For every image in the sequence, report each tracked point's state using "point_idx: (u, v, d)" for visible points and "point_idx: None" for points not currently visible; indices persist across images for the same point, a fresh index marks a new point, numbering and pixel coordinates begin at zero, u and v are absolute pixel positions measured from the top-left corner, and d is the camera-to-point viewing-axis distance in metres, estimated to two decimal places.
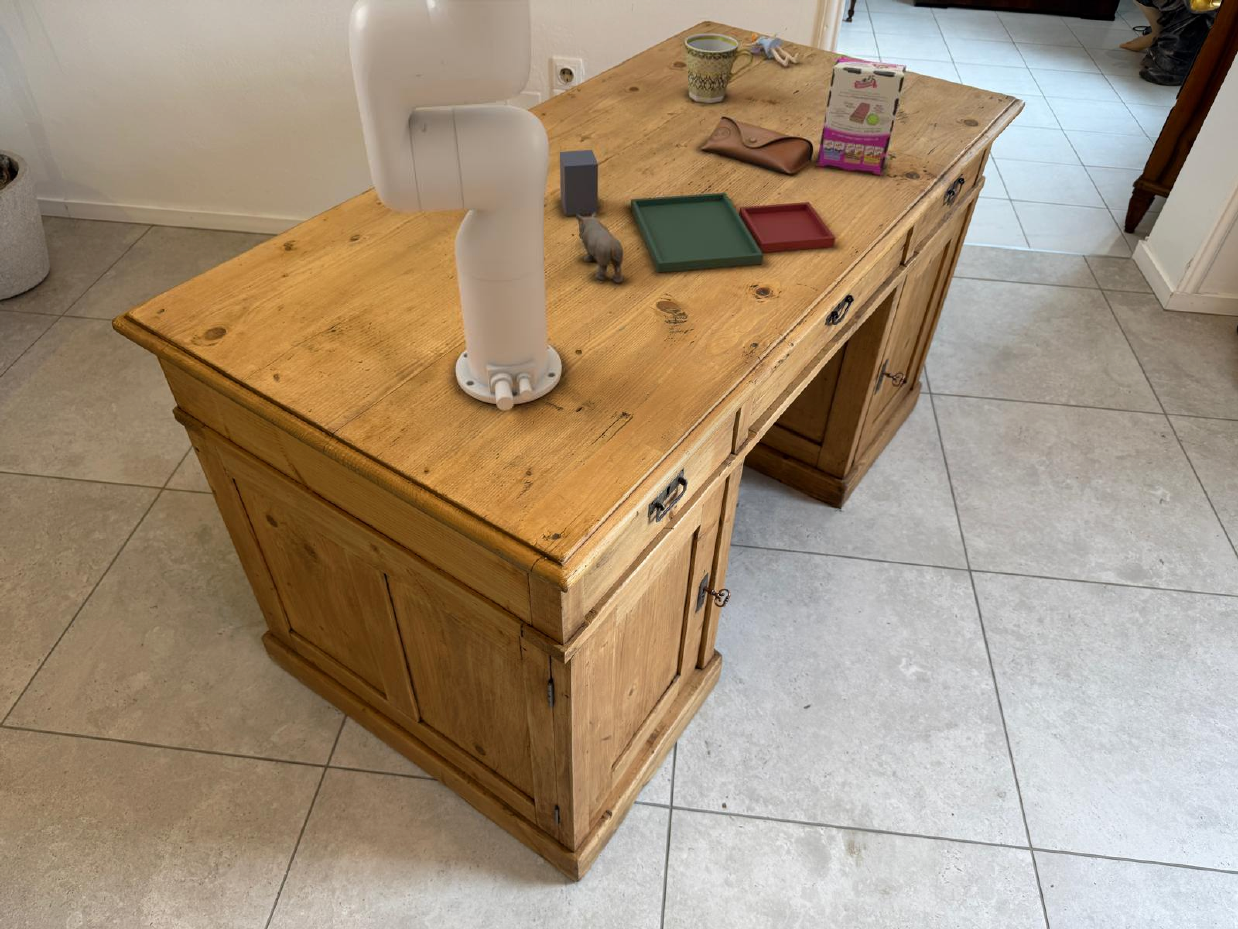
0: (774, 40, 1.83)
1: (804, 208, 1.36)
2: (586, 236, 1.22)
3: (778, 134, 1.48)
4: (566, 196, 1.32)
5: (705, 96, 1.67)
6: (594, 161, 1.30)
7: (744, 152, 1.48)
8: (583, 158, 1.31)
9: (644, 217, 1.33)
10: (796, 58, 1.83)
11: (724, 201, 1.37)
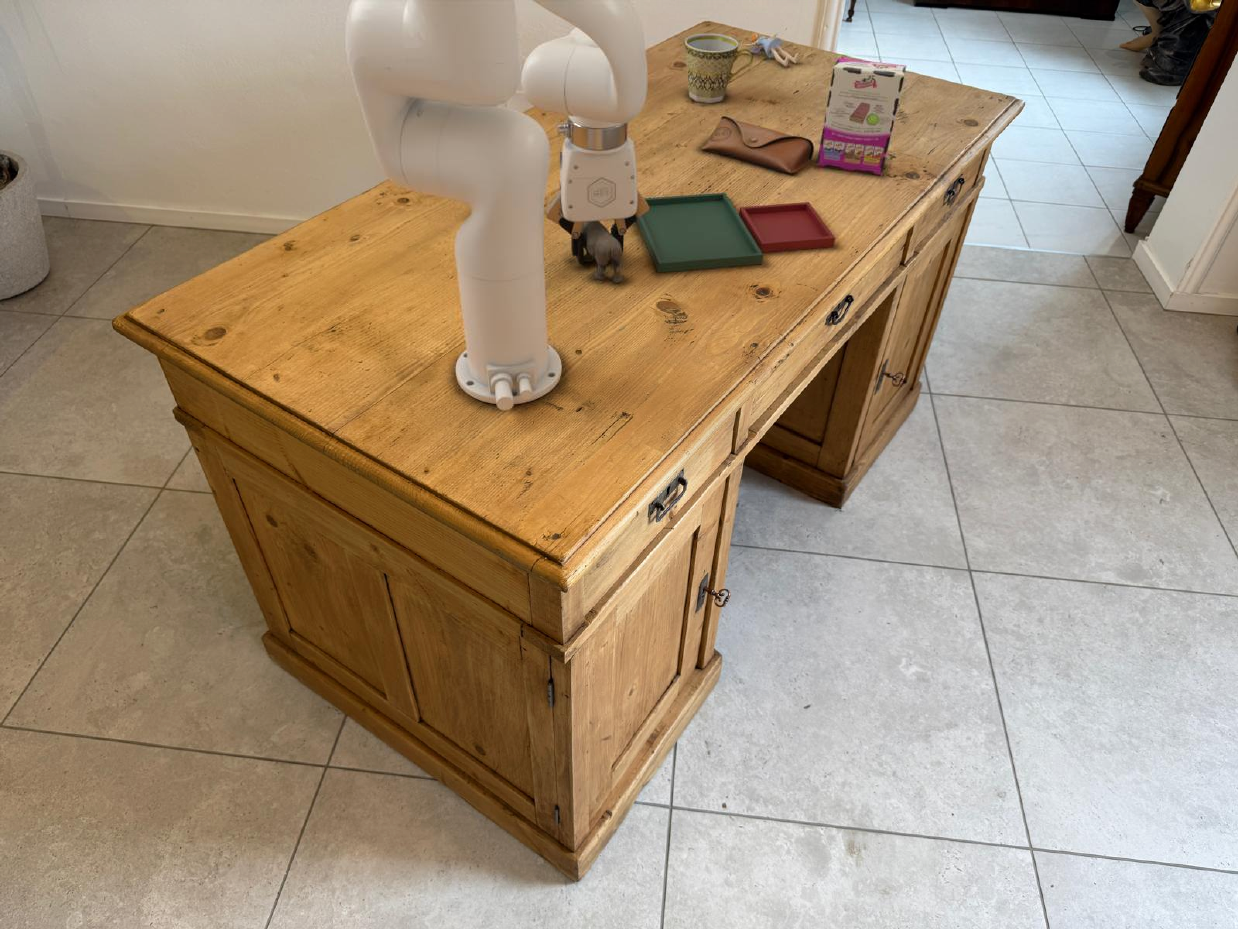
0: (774, 40, 1.83)
1: (804, 208, 1.36)
2: (585, 235, 1.22)
3: (779, 133, 1.49)
4: None
5: (705, 96, 1.67)
6: None
7: (745, 152, 1.48)
8: None
9: (644, 217, 1.33)
10: (796, 58, 1.83)
11: (724, 201, 1.37)
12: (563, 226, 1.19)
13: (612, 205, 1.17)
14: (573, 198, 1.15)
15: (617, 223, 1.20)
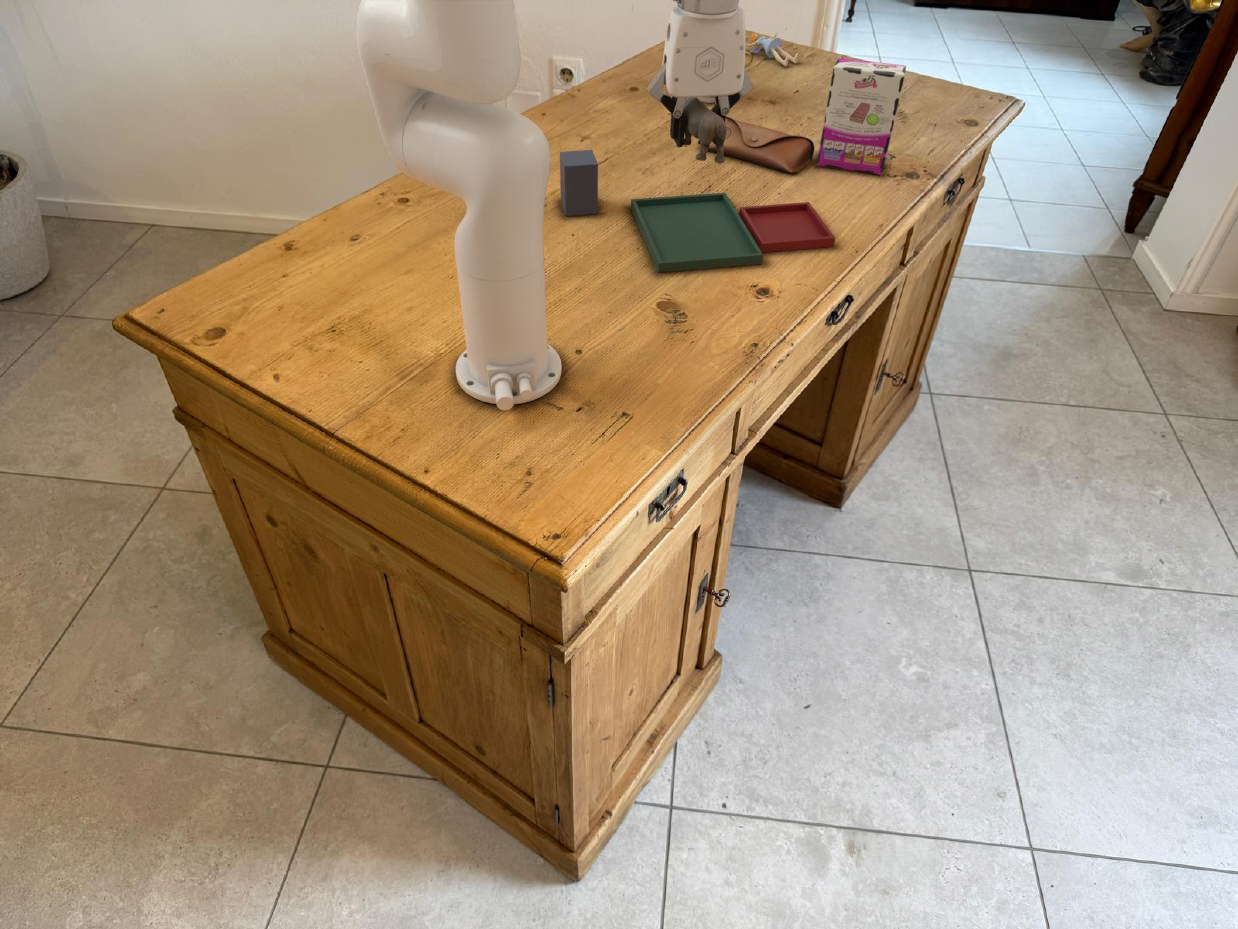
0: (774, 40, 1.84)
1: (804, 208, 1.36)
2: (686, 115, 1.18)
3: (779, 133, 1.49)
4: (566, 196, 1.32)
5: None
6: (594, 161, 1.30)
7: (745, 151, 1.49)
8: (583, 158, 1.31)
9: (644, 217, 1.33)
10: (796, 58, 1.83)
11: (724, 201, 1.37)
12: (665, 104, 1.15)
13: (719, 79, 1.13)
14: (680, 70, 1.11)
15: (720, 101, 1.16)
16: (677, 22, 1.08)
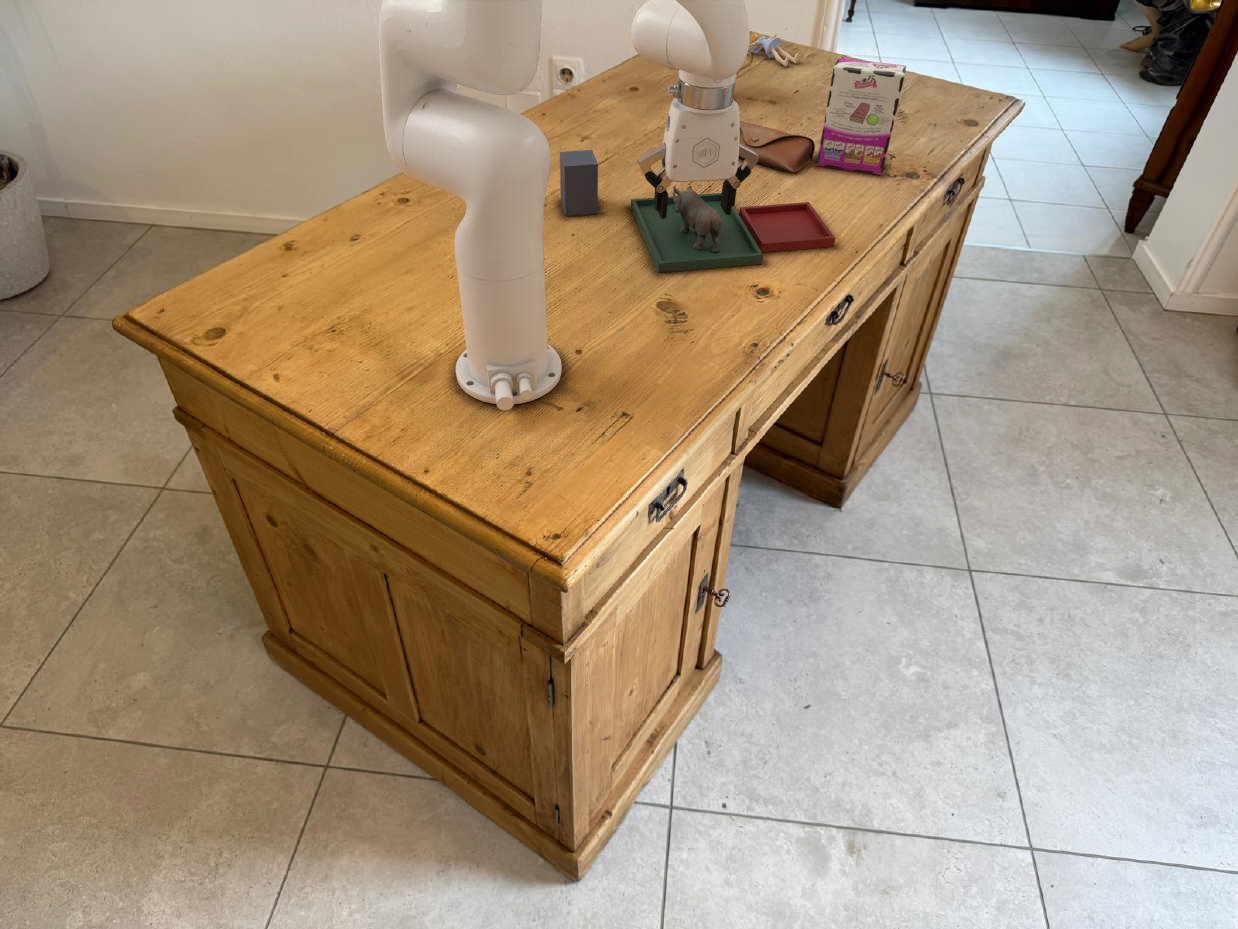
0: (774, 40, 1.84)
1: (804, 208, 1.36)
2: (684, 207, 1.27)
3: (780, 132, 1.49)
4: (566, 196, 1.32)
5: None
6: (594, 161, 1.30)
7: None
8: (583, 158, 1.31)
9: (644, 217, 1.33)
10: (796, 58, 1.83)
11: None
12: (649, 180, 1.22)
13: (714, 166, 1.21)
14: (679, 158, 1.19)
15: (729, 180, 1.24)
16: (676, 115, 1.16)
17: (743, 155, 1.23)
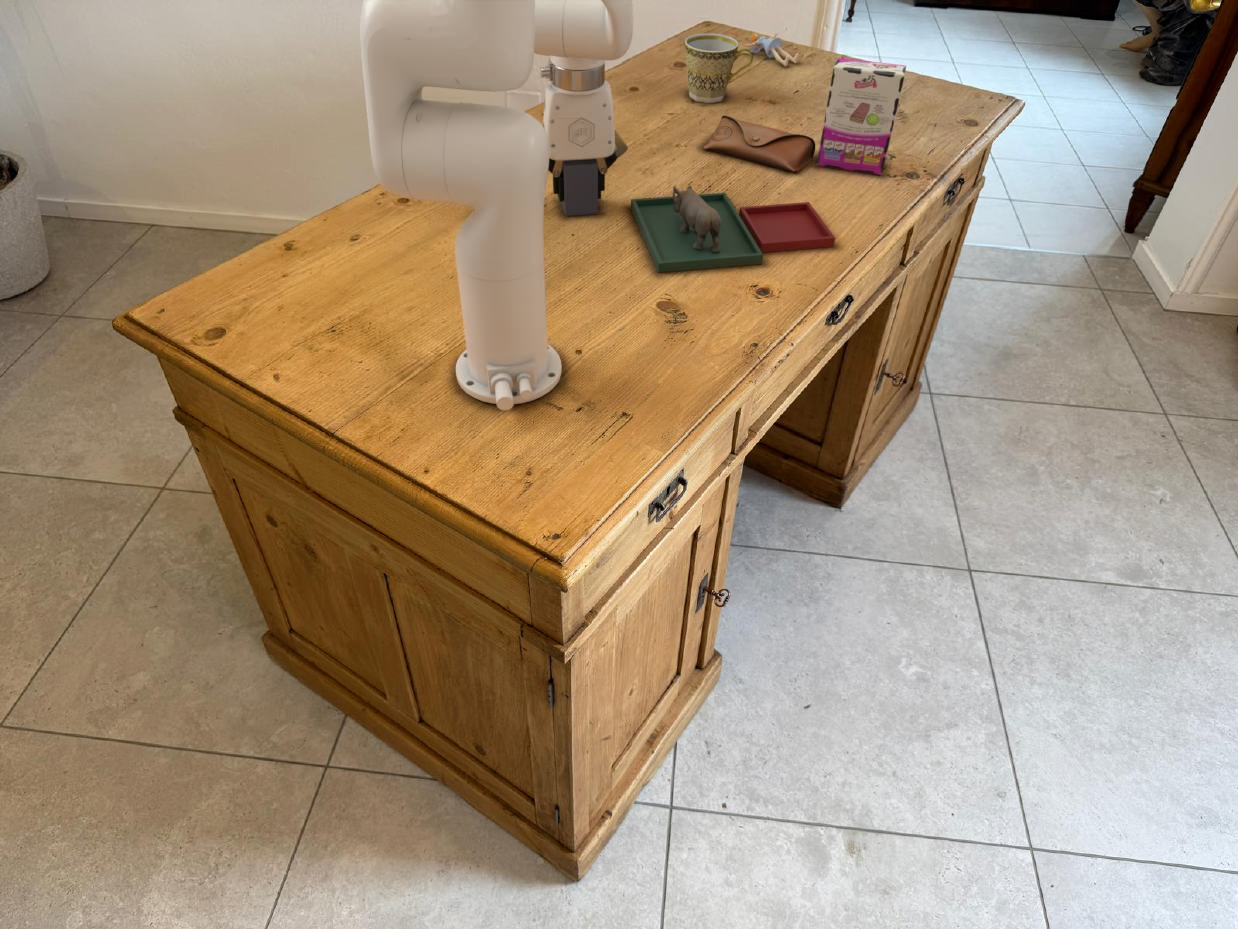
0: (774, 40, 1.84)
1: (804, 208, 1.36)
2: (684, 207, 1.27)
3: (780, 132, 1.49)
4: (566, 196, 1.32)
5: (705, 96, 1.67)
6: (594, 161, 1.30)
7: (747, 151, 1.49)
8: None
9: (644, 217, 1.33)
10: (796, 58, 1.83)
11: (724, 201, 1.37)
12: None
13: (591, 144, 1.27)
14: (556, 138, 1.25)
15: (598, 162, 1.31)
16: (550, 97, 1.22)
17: (614, 141, 1.30)
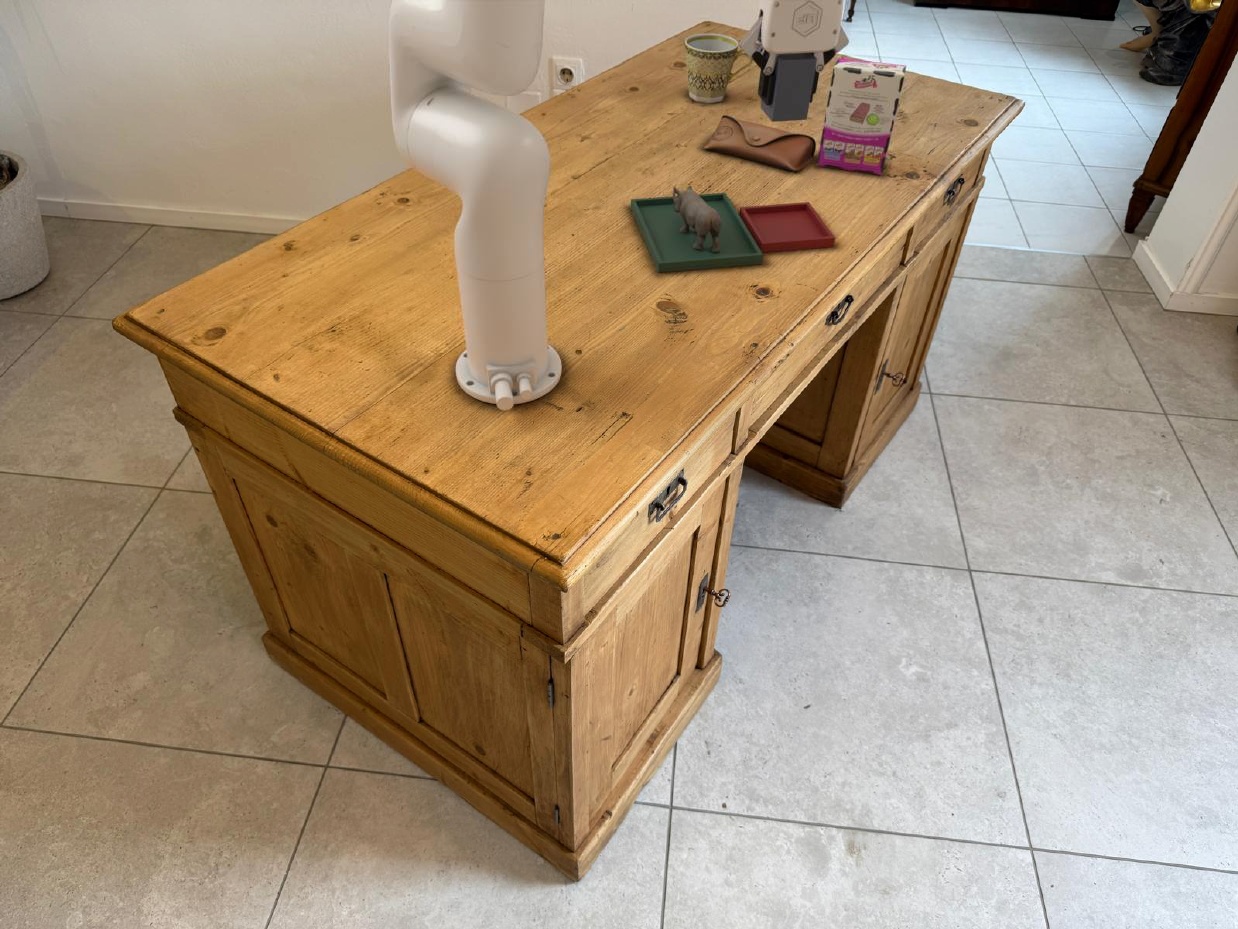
0: None
1: (804, 208, 1.36)
2: (684, 207, 1.27)
3: (781, 131, 1.49)
4: (776, 97, 1.16)
5: (705, 96, 1.67)
6: (811, 56, 1.14)
7: (748, 150, 1.49)
8: (798, 53, 1.15)
9: (644, 217, 1.33)
10: None
11: (724, 201, 1.37)
12: (757, 60, 1.14)
13: (815, 34, 1.11)
14: (777, 25, 1.10)
15: None
16: None
17: None
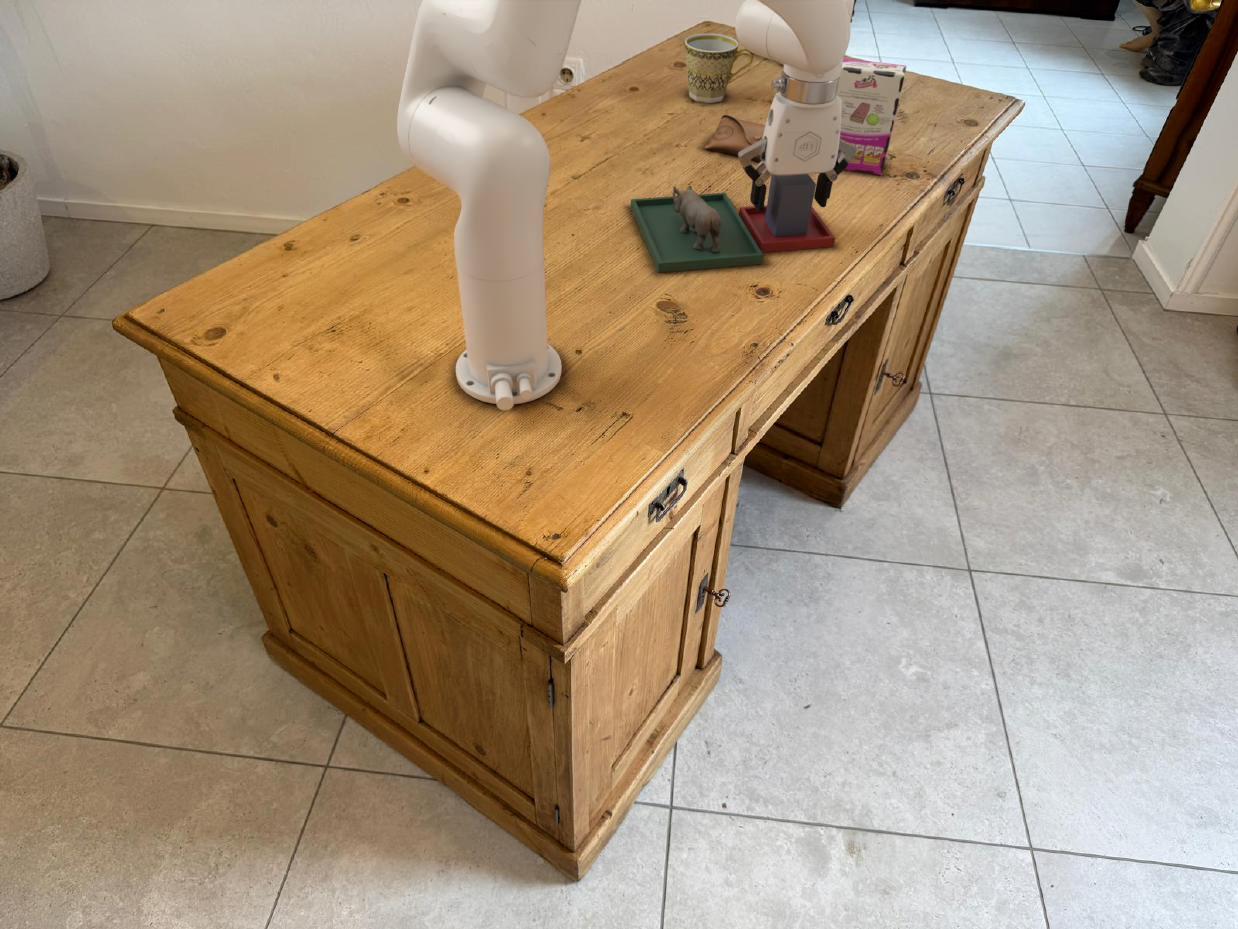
0: None
1: None
2: (684, 207, 1.27)
3: None
4: (779, 217, 1.28)
5: (705, 96, 1.67)
6: (811, 181, 1.26)
7: None
8: (799, 178, 1.26)
9: (644, 217, 1.33)
10: None
11: (724, 201, 1.37)
12: (749, 173, 1.24)
13: (814, 159, 1.22)
14: (780, 152, 1.21)
15: (826, 172, 1.26)
16: (781, 110, 1.17)
17: (841, 148, 1.24)
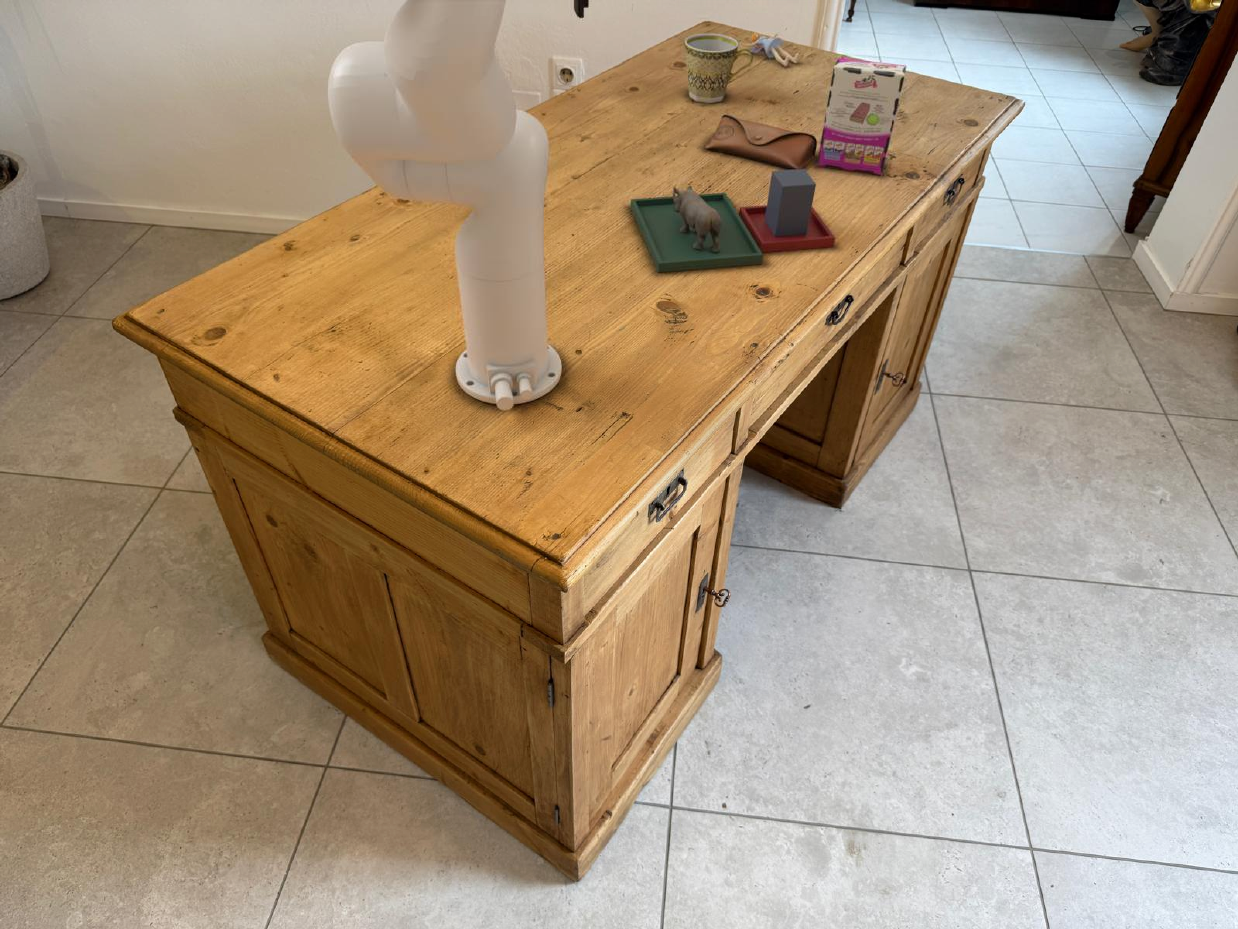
0: (774, 40, 1.84)
1: None
2: (684, 207, 1.27)
3: (782, 130, 1.50)
4: (779, 217, 1.28)
5: (705, 96, 1.67)
6: (811, 181, 1.26)
7: (750, 149, 1.49)
8: (799, 178, 1.26)
9: (644, 217, 1.33)
10: (796, 58, 1.83)
11: (724, 201, 1.37)
12: None
13: None
14: None
15: None
16: None
17: None
